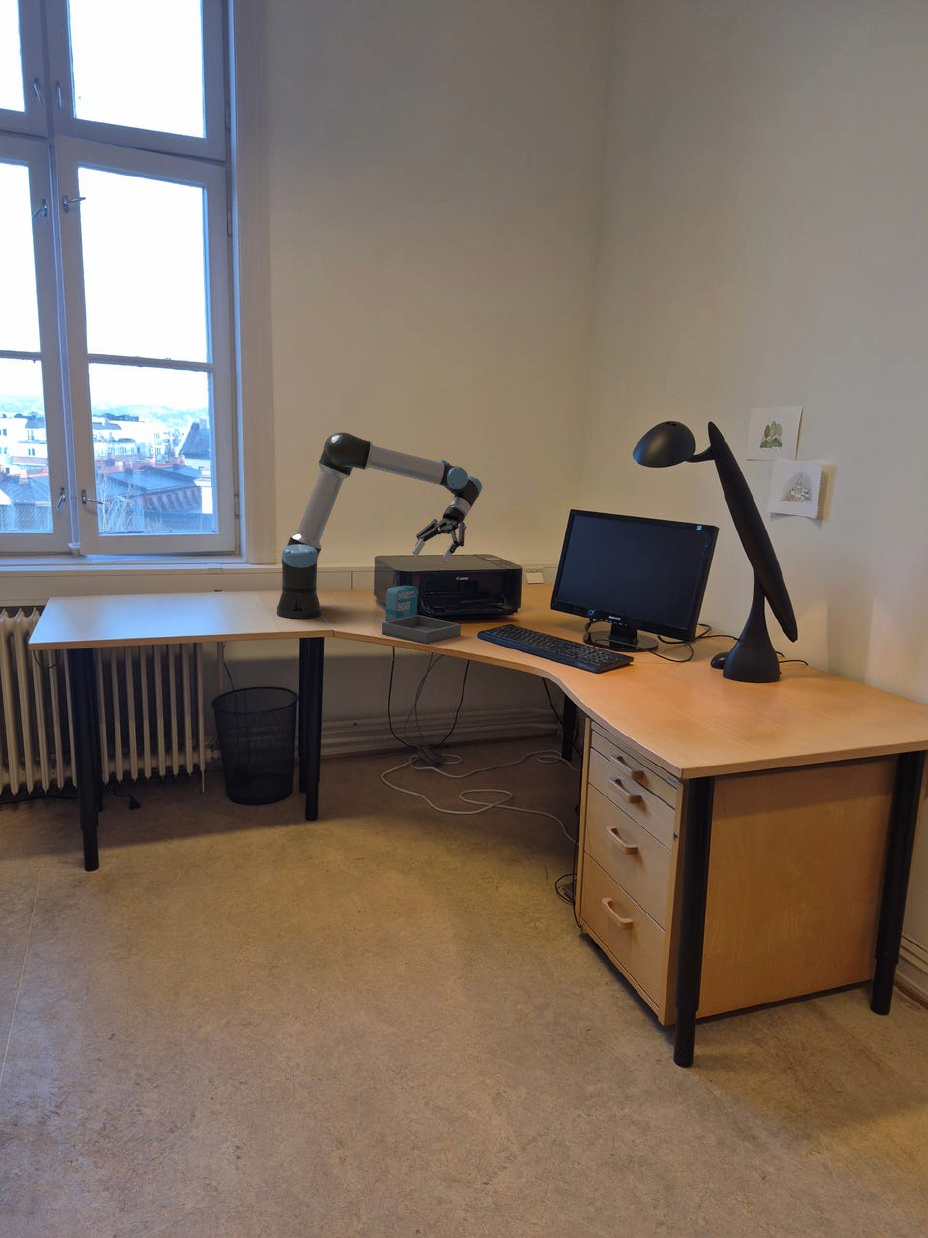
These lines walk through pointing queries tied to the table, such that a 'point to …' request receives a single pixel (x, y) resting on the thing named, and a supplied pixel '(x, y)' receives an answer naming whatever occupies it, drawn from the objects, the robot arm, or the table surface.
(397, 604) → the blue printed box
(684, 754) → the table surface
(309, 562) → the robot arm
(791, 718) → the table surface
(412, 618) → the tray
